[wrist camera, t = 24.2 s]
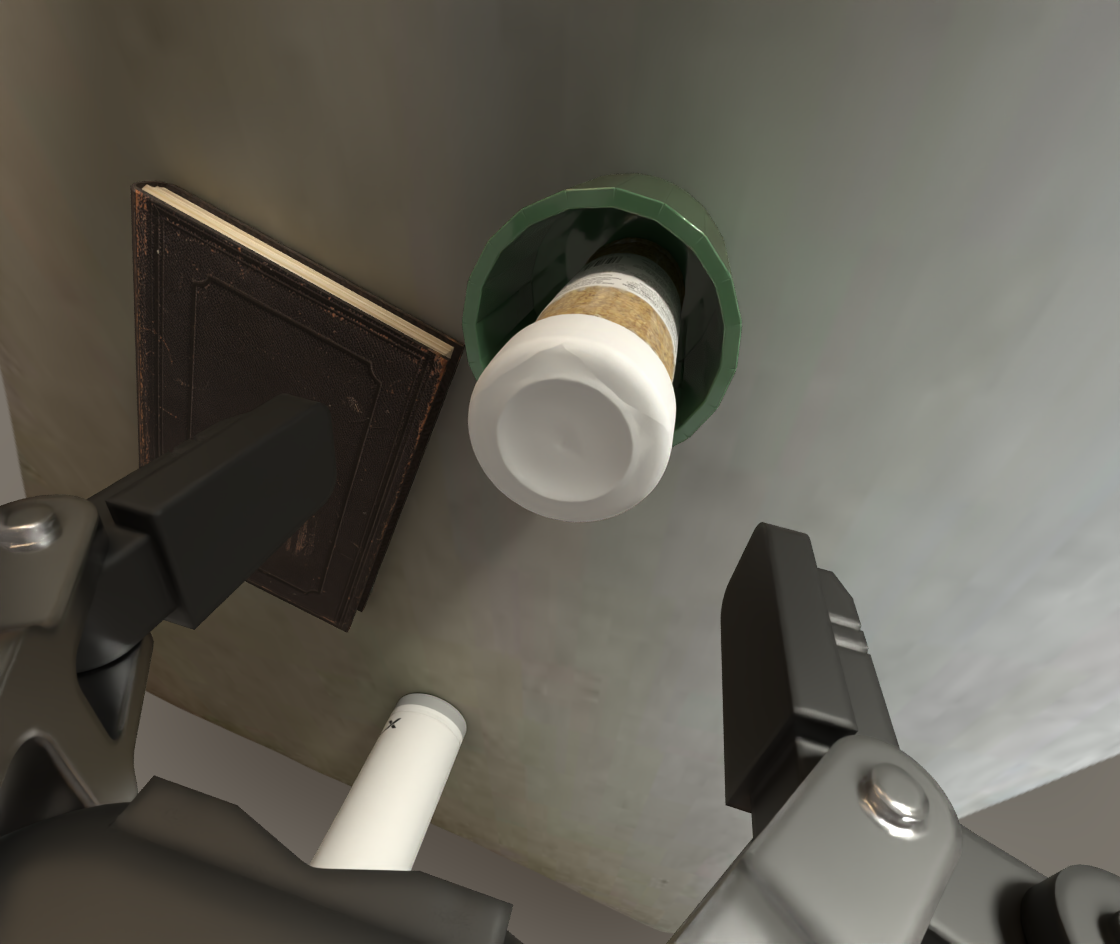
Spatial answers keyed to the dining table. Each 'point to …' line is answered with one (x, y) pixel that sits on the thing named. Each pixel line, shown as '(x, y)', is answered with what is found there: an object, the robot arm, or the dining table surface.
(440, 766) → the travel mug
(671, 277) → the sprinkles bottle
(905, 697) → the dining table surface
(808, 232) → the dining table surface
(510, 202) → the dining table surface
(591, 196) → the cup
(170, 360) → the hardcover book
